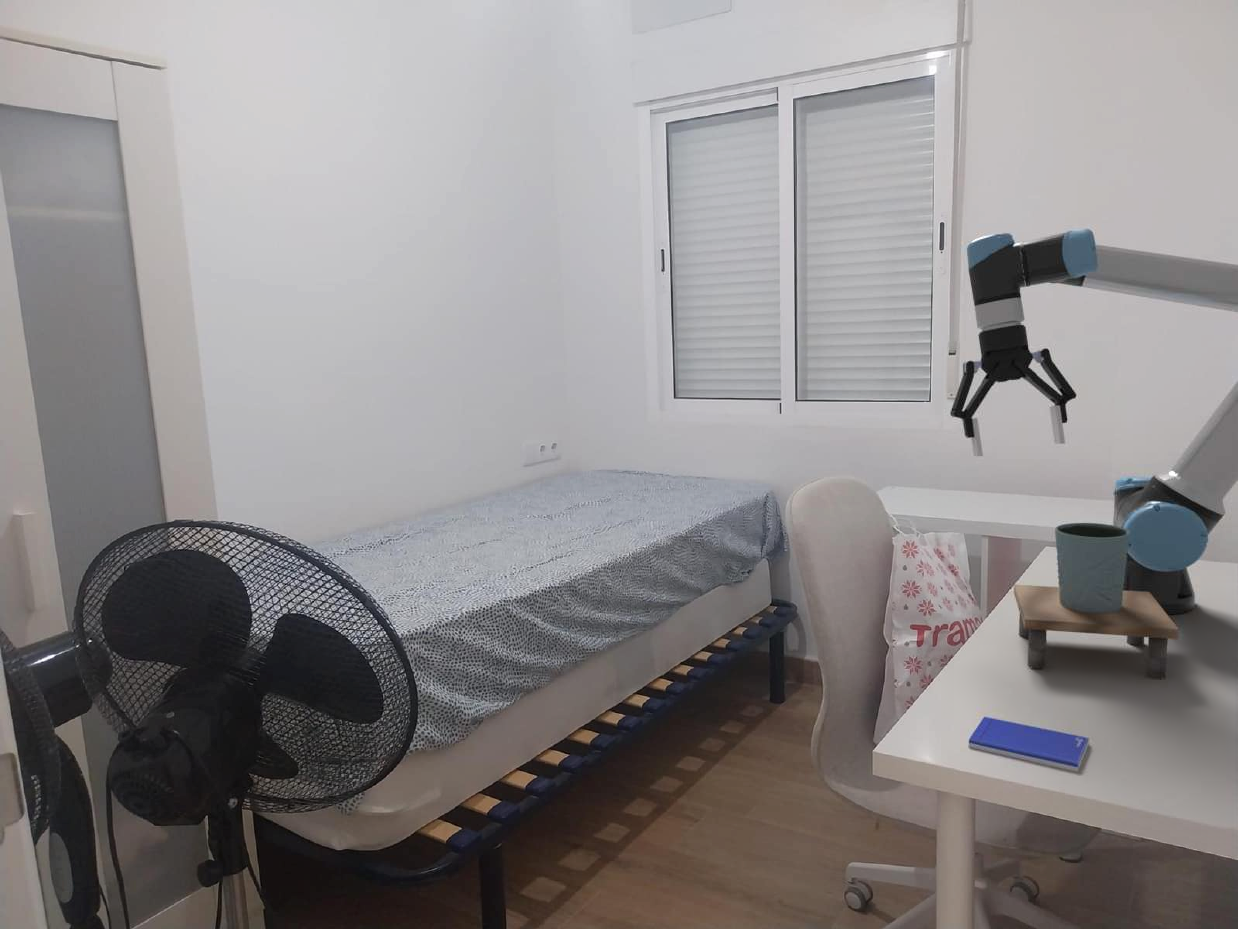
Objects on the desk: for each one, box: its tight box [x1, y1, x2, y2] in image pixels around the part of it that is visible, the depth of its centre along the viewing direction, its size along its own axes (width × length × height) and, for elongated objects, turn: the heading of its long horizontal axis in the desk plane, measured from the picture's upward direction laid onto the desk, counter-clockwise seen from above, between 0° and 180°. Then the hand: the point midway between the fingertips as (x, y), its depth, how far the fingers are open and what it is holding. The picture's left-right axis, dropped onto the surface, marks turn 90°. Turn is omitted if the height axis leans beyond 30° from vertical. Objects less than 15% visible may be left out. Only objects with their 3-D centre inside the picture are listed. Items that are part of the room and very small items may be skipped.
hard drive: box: [968, 716, 1090, 773], centre depth 114 cm, size 2×8×12 cm
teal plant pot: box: [1054, 522, 1130, 614], centre depth 140 cm, size 10×10×12 cm
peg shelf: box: [1013, 584, 1179, 680], centre depth 141 cm, size 20×18×8 cm
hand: (1018, 449), depth 156 cm, fingers open, 13 cm apart
